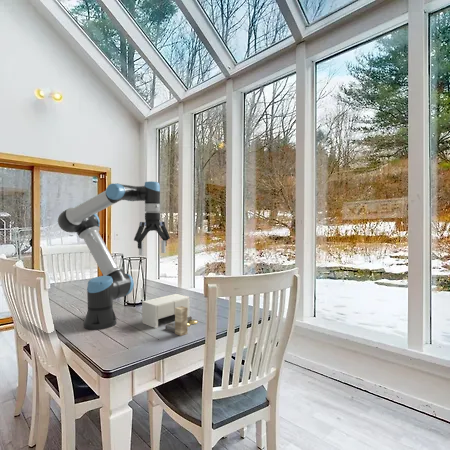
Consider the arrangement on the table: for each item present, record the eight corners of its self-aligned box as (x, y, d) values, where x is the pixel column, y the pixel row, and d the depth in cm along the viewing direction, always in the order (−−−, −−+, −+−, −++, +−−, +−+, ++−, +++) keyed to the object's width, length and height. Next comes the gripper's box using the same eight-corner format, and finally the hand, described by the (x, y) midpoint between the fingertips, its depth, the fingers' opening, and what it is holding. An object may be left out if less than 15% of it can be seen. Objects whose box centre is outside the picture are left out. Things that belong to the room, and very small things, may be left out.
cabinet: (155, 328, 154) (155, 305, 153) (142, 323, 161) (142, 301, 161) (189, 317, 170) (189, 297, 170) (176, 313, 178) (176, 293, 177)
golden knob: (186, 328, 155) (186, 325, 155) (179, 326, 157) (179, 323, 157) (192, 325, 158) (192, 323, 158) (185, 323, 161) (185, 321, 161)
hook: (180, 336, 144) (180, 309, 143) (163, 329, 152) (163, 304, 151) (207, 326, 157) (207, 302, 156) (190, 320, 165) (189, 297, 164)
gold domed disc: (193, 325, 159) (193, 323, 159) (187, 323, 161) (187, 321, 161) (199, 322, 162) (199, 320, 162) (192, 321, 165) (192, 319, 165)
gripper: (135, 211, 150) (135, 256, 151) (176, 212, 169) (176, 252, 169) (126, 212, 155) (126, 255, 156) (167, 212, 174) (167, 251, 174)
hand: (152, 254), depth 163 cm, fingers open, 13 cm apart
